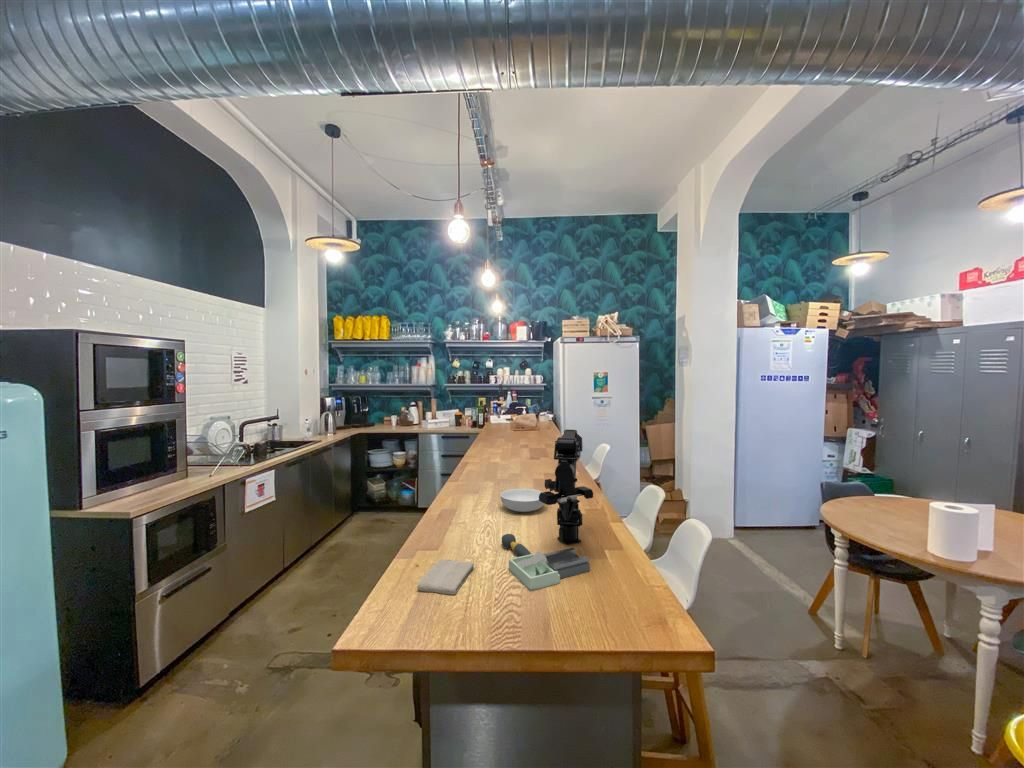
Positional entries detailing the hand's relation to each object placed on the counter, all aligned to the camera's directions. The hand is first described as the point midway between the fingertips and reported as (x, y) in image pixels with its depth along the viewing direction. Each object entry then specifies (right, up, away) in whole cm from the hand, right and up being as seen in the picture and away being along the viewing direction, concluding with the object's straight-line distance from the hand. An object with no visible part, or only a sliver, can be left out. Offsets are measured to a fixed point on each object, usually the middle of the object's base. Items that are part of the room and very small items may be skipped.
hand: (566, 520), depth 142 cm
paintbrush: (-17, -12, +3) cm, 21 cm away
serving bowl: (-13, -11, +49) cm, 52 cm away
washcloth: (-38, -13, -16) cm, 43 cm away
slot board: (-2, -12, -9) cm, 16 cm away
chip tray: (-12, -12, -15) cm, 23 cm away
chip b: (-12, -10, -14) cm, 21 cm away
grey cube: (-9, -11, -13) cm, 19 cm away
